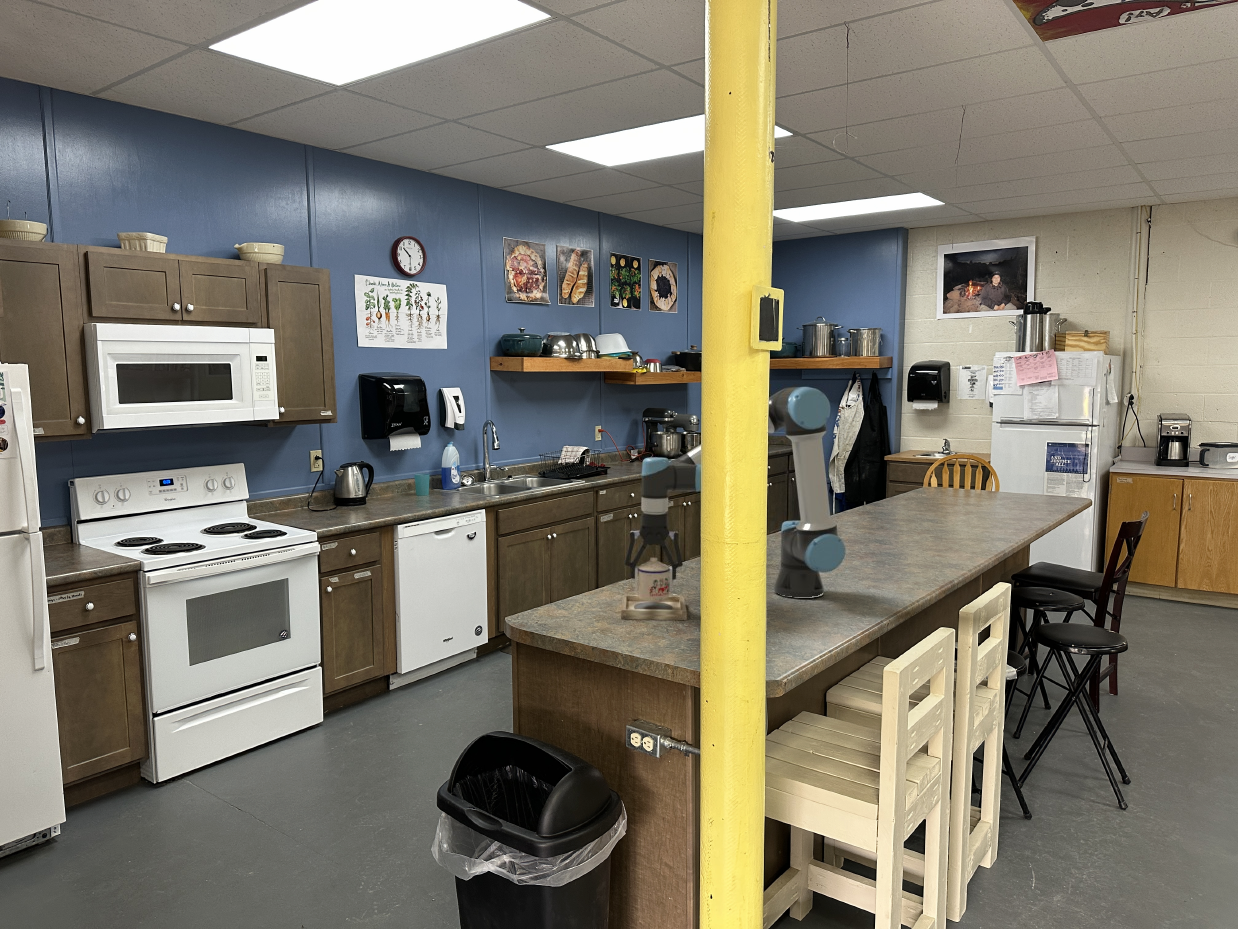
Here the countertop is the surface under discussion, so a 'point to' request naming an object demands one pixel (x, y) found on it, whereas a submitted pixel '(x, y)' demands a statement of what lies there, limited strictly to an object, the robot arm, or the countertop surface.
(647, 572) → the teacup with lid
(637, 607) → the birch tray
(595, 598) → the countertop surface
